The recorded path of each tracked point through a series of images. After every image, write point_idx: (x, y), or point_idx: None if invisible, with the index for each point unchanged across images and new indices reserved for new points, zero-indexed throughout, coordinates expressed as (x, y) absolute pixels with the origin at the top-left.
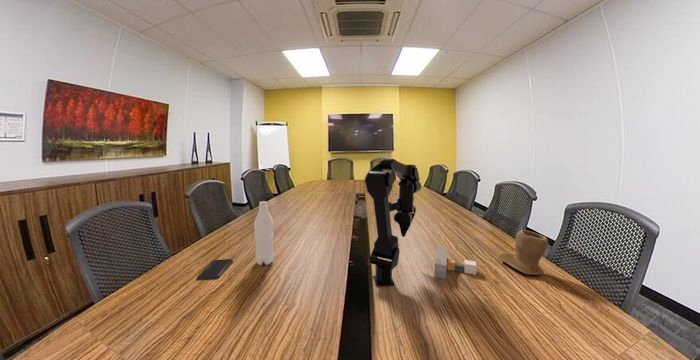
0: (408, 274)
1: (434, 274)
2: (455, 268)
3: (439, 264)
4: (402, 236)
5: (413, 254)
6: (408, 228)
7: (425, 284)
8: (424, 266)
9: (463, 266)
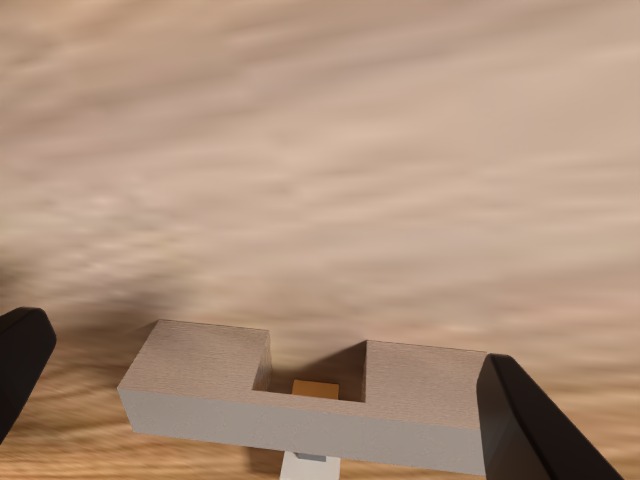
0: (104, 188)
1: (150, 333)
2: None
3: (124, 406)
4: (24, 313)
5: (516, 205)
6: (482, 429)
7: (49, 278)
8: (286, 279)
9: (297, 455)
